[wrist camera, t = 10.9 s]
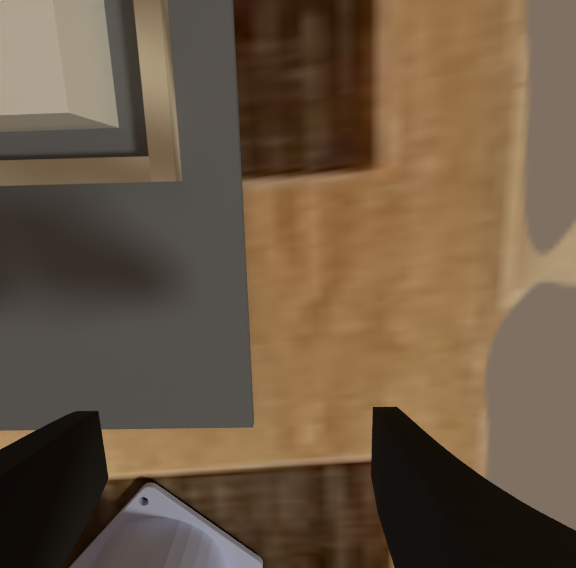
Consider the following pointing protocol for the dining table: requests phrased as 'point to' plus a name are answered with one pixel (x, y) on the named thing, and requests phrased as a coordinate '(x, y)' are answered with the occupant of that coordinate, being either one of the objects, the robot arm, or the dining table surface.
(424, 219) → the dining table surface
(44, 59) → the card box
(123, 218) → the mat
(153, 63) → the frame
